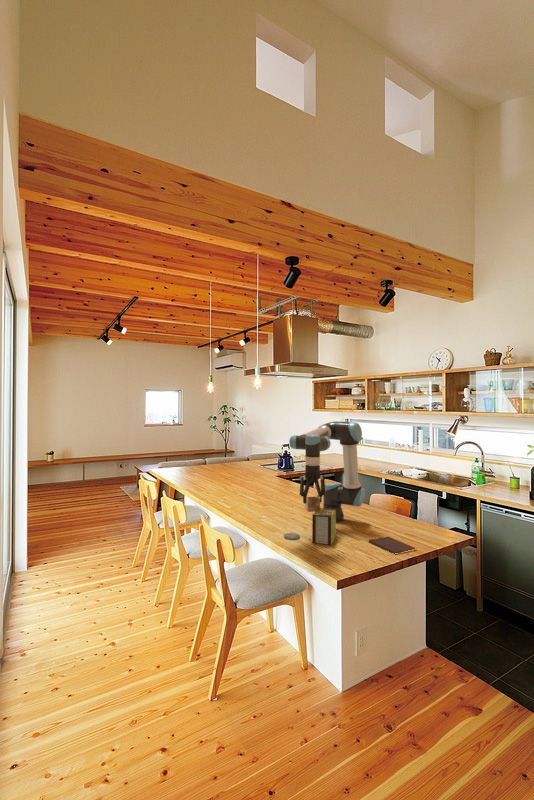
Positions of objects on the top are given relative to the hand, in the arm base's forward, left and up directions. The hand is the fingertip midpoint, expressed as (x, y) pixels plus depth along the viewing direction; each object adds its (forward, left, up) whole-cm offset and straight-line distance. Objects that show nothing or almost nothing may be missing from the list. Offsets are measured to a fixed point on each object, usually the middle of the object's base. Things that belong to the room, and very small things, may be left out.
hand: (312, 509), depth 205 cm
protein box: (-12, -11, -21) cm, 26 cm away
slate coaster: (+4, -19, -20) cm, 28 cm away
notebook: (-43, +7, -21) cm, 48 cm away
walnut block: (0, 0, 0) cm, 0 cm away
